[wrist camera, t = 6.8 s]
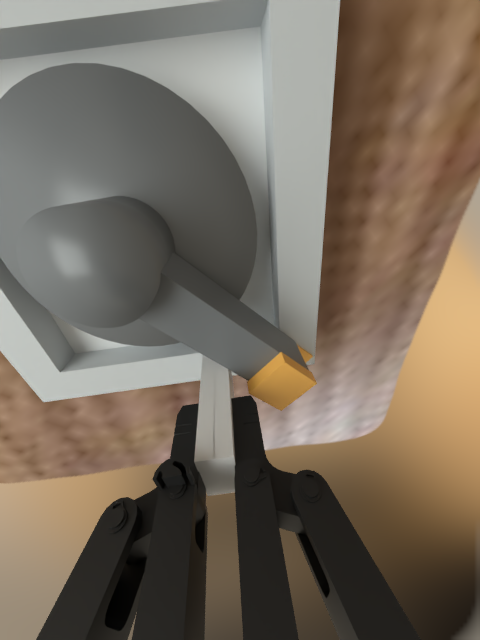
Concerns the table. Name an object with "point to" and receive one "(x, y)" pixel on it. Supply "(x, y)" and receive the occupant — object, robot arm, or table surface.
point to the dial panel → (235, 129)
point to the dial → (136, 221)
